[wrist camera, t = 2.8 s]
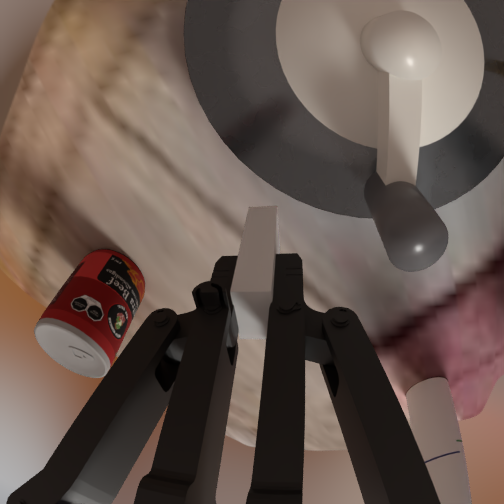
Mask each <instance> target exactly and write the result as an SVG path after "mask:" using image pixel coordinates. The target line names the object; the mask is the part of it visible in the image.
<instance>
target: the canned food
mask: <svg viewBox="0 0 504 504" xmlns="http://www.w3.org/2000/svg"><path fill="white" fill-rule="evenodd" d="M144 292H145V281H144V277H143V275H142V273H141V271H140V270H139V268H138V267H137V266H136V265H135V264H134V263H133V262H132V261H131V260H130V259H128V258H127V257H125V256H124V255H122V254H120V253H118V252H115V251H112V250H106V249H101V250H96V251H93V252H91V253H90V254H88V255H87V256H85V257H84V259H83V260H82V261H81V262H80V264H79V265H78V266H77V268H76V269H75V270H74V271H73V273H72V274H71V275H70V277H69V278H68V279H67V281H66V282H65V283H64V285H63V286H62V287H61V289H60V290H59V292H58V293H57V294H56V296H55V297H54V299H53V300H52V301H51V303H50V304H49V306H48V307H47V308H46V310H45V311H44V313H43V314H42V316H41V318H40V319H39V321H38V322H37V325H36V327H35V329H34V333H35V337H36V339H37V341H38V343H39V344H40V346H41V347H42V348H43V349H44V351H45V352H46V353H47V354H48V355H49V356H50V357H51V358H53V359H54V360H55V361H56V362H58V363H59V364H60V365H62V366H64V367H65V368H67V369H69V370H71V371H73V372H75V373H78V374H80V375H84V376H87V377H92V378H99V377H103V376H105V375H106V374H107V372H108V370H109V369H110V367H111V365H112V362H113V360H114V358H115V356H116V354H117V352H118V350H119V347H120V345H121V343H122V341H123V339H124V336H125V334H126V332H127V330H128V328H129V326H130V324H131V321H132V319H133V317H134V315H135V313H136V311H137V309H138V307H139V305H140V303H141V301H142V299H143V296H144Z"/></svg>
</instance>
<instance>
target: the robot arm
mask: <svg viewBox="0 0 504 504" xmlns="http://www.w3.org/2000/svg"><path fill="white" fill-rule="evenodd" d="M192 295H193V298H194V301H195V305H196V310H194V311H191V312H188V313H184V314H180V315H177V314H176V313H175V312H174V311H173V310H171V309H168V308H162V309H158V310H156V311H154V312H152V313H151V314H150V315H149V316H148V317H147V318H146V320H145V321H144V323H143V324H142V325H141V327H140V328H139V329H138V331H137V332H136V333H135V335H134V336H133V338H132V339H131V340H130V342H129V343H128V345H127V346H126V347H125V349H124V350H123V351H122V353H121V354H120V356H119V357H118V358H117V360H116V361H115V363H114V364H113V366H112V367H111V368H110V370H109V371H108V373H107V374H106V376H105V377H104V378H103V380H102V381H101V383H100V384H99V386H98V387H97V388H96V390H95V391H94V393H93V395H92V396H91V397H90V399H89V400H88V402H87V403H86V405H85V406H84V407H83V409H82V411H81V412H80V413H79V415H78V416H77V418H76V419H75V421H74V423H73V424H72V425H71V427H70V429H69V430H68V431H67V433H66V434H65V436H64V438H63V439H62V441H61V442H60V444H59V445H58V447H57V449H56V450H55V451H54V453H53V455H52V456H51V458H50V459H49V461H48V463H47V464H46V466H45V467H44V469H43V470H42V471H40V472H39V473H38V474H36V475H35V476H34V477H33V478H31V479H30V480H29V481H27V482H26V483H25V484H23V485H22V486H21V487H20V488H18V489H17V490H15V491H14V492H13V493H12V494H11V495H10V496H9V497H8V500H7V504H111V503H112V502H113V500H114V499H115V497H116V496H117V494H118V492H119V490H120V488H121V487H122V485H123V483H124V481H125V480H126V478H127V476H128V474H129V473H130V471H131V469H132V467H133V465H134V464H135V462H136V460H137V459H138V457H139V455H140V453H141V451H142V450H143V448H144V446H145V444H146V443H147V441H148V439H149V437H150V436H151V434H152V432H153V430H154V429H155V427H156V425H157V423H158V421H159V420H160V418H161V416H162V414H163V412H164V411H165V409H166V407H167V406H168V408H167V411H166V415H165V419H164V422H163V426H162V430H161V434H160V437H159V441H158V445H157V449H156V453H155V457H154V461H153V465H152V468H151V471H150V472H149V474H147V475H146V476H144V477H143V478H142V480H141V481H140V483H139V486H138V489H137V493H136V497H135V501H134V504H216V500H215V496H216V488H217V482H218V475H219V469H220V463H221V457H222V450H223V444H224V438H225V431H226V425H227V419H228V412H229V406H230V399H231V393H232V387H233V380H234V374H235V368H236V361H237V355H238V343H237V337H238V333H239V338H240V339H266V349H265V359H264V370H263V380H262V390H261V400H260V410H259V419H258V429H257V438H256V447H255V456H254V465H253V474H252V482H251V487H250V490H249V492H248V496H247V501H246V504H302V488H303V463H304V431H305V360H308V361H312V362H315V363H319V364H320V368H321V371H322V374H323V377H324V380H325V382H326V385H327V388H328V391H329V394H330V397H331V400H332V403H333V406H334V409H335V412H336V415H337V418H338V421H339V424H340V427H341V430H342V434H343V437H344V440H345V443H346V446H347V449H348V452H349V455H350V458H351V461H352V465H353V468H354V471H355V474H356V477H357V481H358V484H359V487H360V490H361V493H362V496H363V500H364V503H365V504H441V503H440V501H439V498H438V495H437V493H436V490H435V487H434V485H433V482H432V479H431V477H430V474H429V472H428V469H427V467H426V464H425V462H424V459H423V457H422V454H421V452H420V450H419V447H418V445H417V442H416V440H415V438H414V435H413V433H412V431H411V428H410V426H409V424H408V421H407V419H406V417H405V415H404V412H403V410H402V408H401V406H400V403H399V401H398V399H397V397H396V395H395V392H394V390H393V388H392V386H391V384H390V382H389V379H388V377H387V375H386V373H385V371H384V369H383V367H382V365H381V363H380V360H379V358H378V356H377V354H376V352H375V350H374V348H373V346H372V344H371V342H370V340H369V338H368V336H367V334H366V332H365V330H364V328H363V326H362V324H361V322H360V320H359V318H358V316H357V315H356V314H355V312H354V311H352V310H350V309H348V308H344V307H335V308H332V309H329V310H328V311H327V312H326V313H322V312H318V311H315V310H313V309H311V308H309V307H308V306H307V305H306V303H305V302H304V295H303V269H302V259H301V258H300V257H299V255H298V254H297V253H295V254H280V239H279V225H278V210H277V206H267V207H249V209H248V214H247V218H246V223H245V227H244V232H243V236H242V240H241V245H240V249H239V254H238V256H222V257H221V258H220V259H219V260H218V261H217V262H216V263H215V267H214V270H213V273H212V278H211V280H210V281H207V282H203V283H201V284H199V285H198V286H196V287H195V288H194V290H193V291H192Z"/></svg>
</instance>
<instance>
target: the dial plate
mask: <svg viewBox="0 0 504 504" xmlns="http://www.w3.org/2000/svg"><path fill="white" fill-rule="evenodd" d="M281 1H282V0H188V2H187V6H186V11H185V22H184V44H185V56H186V61H187V66H188V70H189V75H190V79H191V82H192V85H193V87H194V90H195V93H196V95H197V98H198V101H199V103H200V105H201V106H202V108H203V110H204V112H205V114H206V116H207V118H208V120H209V122H210V123H211V125H212V126H213V128H214V129H215V130H216V132H217V133H218V135H219V136H220V138H221V139H222V140H223V142H224V143H225V144H226V145H227V146H228V147H229V149H230V150H231V151H232V152H233V153H234V154H235V155H236V156H237V158H238V159H239V160H240V161H242V162H243V163H244V164H245V165H246V166H247V167H248V168H249V169H251V170H252V171H253V172H254V173H255V174H256V175H257V176H259V177H260V178H262V179H263V180H265V181H266V182H267V183H269V184H270V185H272V186H273V187H274V188H276V189H278V190H280V191H281V192H283V193H285V194H287V195H289V196H291V197H292V198H294V199H296V200H298V201H301V202H303V203H306V204H308V205H311V206H313V207H315V208H318V209H322V210H325V211H329V212H332V213H336V214H340V215H346V216H352V217H358V218H372V219H373V217H372V215H371V213H370V210H369V208H368V206H367V204H366V201H365V198H364V187H365V184H366V182H367V180H368V179H369V177H370V176H371V175H372V174H373V173H374V172H376V168H377V148H372V147H368V146H364V145H361V144H358V143H355V142H352V141H350V140H348V139H346V138H344V137H342V136H340V135H338V134H337V133H335V132H334V131H332V130H331V129H329V128H327V127H326V126H325V125H324V124H322V123H321V122H320V121H319V120H317V119H316V118H315V117H314V116H313V115H312V114H311V113H310V112H309V111H308V110H307V109H306V108H305V106H304V105H303V104H302V103H301V101H300V100H299V99H298V98H297V96H296V94H295V93H294V91H293V90H292V88H291V86H290V85H289V83H288V81H287V78H286V76H285V74H284V72H283V69H282V66H281V63H280V60H279V56H278V51H277V45H276V22H277V15H278V11H279V7H280V4H281ZM464 1H465V3H466V4H467V6H468V8H469V9H470V11H471V13H472V15H473V17H474V19H475V21H476V23H477V26H478V29H479V32H480V35H481V39H482V44H483V50H484V75H483V81H482V86H481V89H480V92H479V95H478V98H477V100H476V102H475V104H474V106H473V108H472V109H471V111H470V112H469V114H468V115H467V117H466V118H465V119H464V120H463V121H462V123H461V124H460V125H459V126H458V127H457V128H455V129H454V130H453V131H452V132H451V133H449V134H448V135H446V136H445V137H443V138H441V139H440V140H438V141H436V142H433V143H431V144H429V145H426V146H422V147H419V158H418V168H417V177H416V187H417V188H418V189H419V190H420V192H421V193H422V194H423V196H424V197H425V198H426V199H427V201H428V202H429V203H430V205H431V206H432V207H433V209H436V208H439V207H441V206H443V205H445V204H447V203H449V202H452V201H454V200H456V199H457V198H459V197H461V196H462V195H464V194H465V193H467V192H468V191H470V190H471V189H473V188H474V187H475V186H476V185H478V184H479V183H480V182H481V181H482V180H484V179H485V178H486V177H487V176H488V175H489V174H490V173H491V171H492V170H493V169H494V168H495V167H496V166H497V165H498V164H499V162H500V161H501V159H502V158H503V157H504V0H464ZM373 221H374V220H373Z"/></svg>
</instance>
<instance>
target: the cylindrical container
mask: <svg viewBox="0 0 504 504" xmlns="http://www.w3.org/2000/svg"><path fill="white" fill-rule="evenodd" d="M406 399H407V405H408V410H409V416H410V423H411V429H412V433H413V435H414V438H415V440H416V442H417V445H418V447H419V450H420V452H421V454H422V457H423V459H424V462H425V464H426V467H427V469H428V472H429V474H430V477H431V479H432V482H433V485H434V487H435V490H436V493H437V495H438V498H439V501H440V503H441V504H472V503H471V494H470V486H469V479H468V472H467V466H466V460H465V454H464V448H463V443H462V438H461V433H460V429H459V424H458V419H457V415H456V411H455V407H454V403H453V399H452V395H451V391H450V387H449V384H448V381H447V379H445V378H442V377H435V378H430V379H427V380H424V381H421V382H419V383H417V384H416V385H414V386H413V387H411V388H410V389H409V390H408V391H407V393H406Z"/></svg>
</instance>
